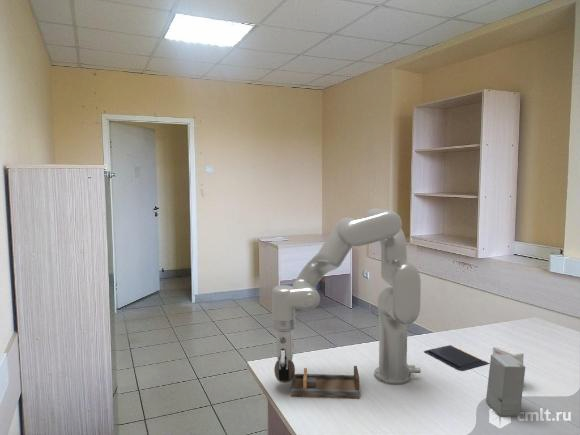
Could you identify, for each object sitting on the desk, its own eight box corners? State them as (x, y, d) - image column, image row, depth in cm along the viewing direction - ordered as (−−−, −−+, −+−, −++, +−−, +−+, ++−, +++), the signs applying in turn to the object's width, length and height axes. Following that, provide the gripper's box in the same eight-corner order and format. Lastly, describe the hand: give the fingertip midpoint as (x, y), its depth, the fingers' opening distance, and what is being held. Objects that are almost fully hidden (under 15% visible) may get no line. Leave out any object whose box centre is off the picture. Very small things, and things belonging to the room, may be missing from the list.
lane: (356, 380, 150) (356, 364, 149) (359, 398, 138) (359, 380, 137) (292, 379, 151) (292, 362, 151) (290, 397, 139) (290, 379, 139)
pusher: (315, 378, 149) (315, 368, 149) (315, 391, 140) (315, 380, 140) (304, 378, 149) (304, 368, 149) (303, 391, 141) (303, 380, 140)
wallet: (422, 348, 174) (451, 342, 180) (422, 352, 174) (451, 346, 180) (459, 368, 156) (491, 361, 162) (459, 373, 156) (490, 366, 162)
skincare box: (485, 402, 135) (487, 353, 134) (507, 401, 136) (509, 352, 134) (500, 417, 127) (502, 365, 125) (523, 416, 127) (526, 364, 126)
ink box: (523, 386, 145) (525, 352, 144) (513, 390, 143) (515, 355, 141) (500, 376, 153) (502, 343, 151) (491, 379, 150) (492, 346, 149)
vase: (292, 385, 141) (292, 360, 140) (272, 384, 143) (271, 358, 142) (296, 376, 148) (296, 351, 147) (277, 374, 149) (276, 350, 148)
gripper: (293, 333, 134) (294, 387, 136) (296, 314, 152) (297, 363, 154) (269, 332, 135) (270, 387, 137) (275, 314, 152) (276, 363, 154)
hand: (284, 374), depth 145 cm, fingers closed on vase, 6 cm apart
